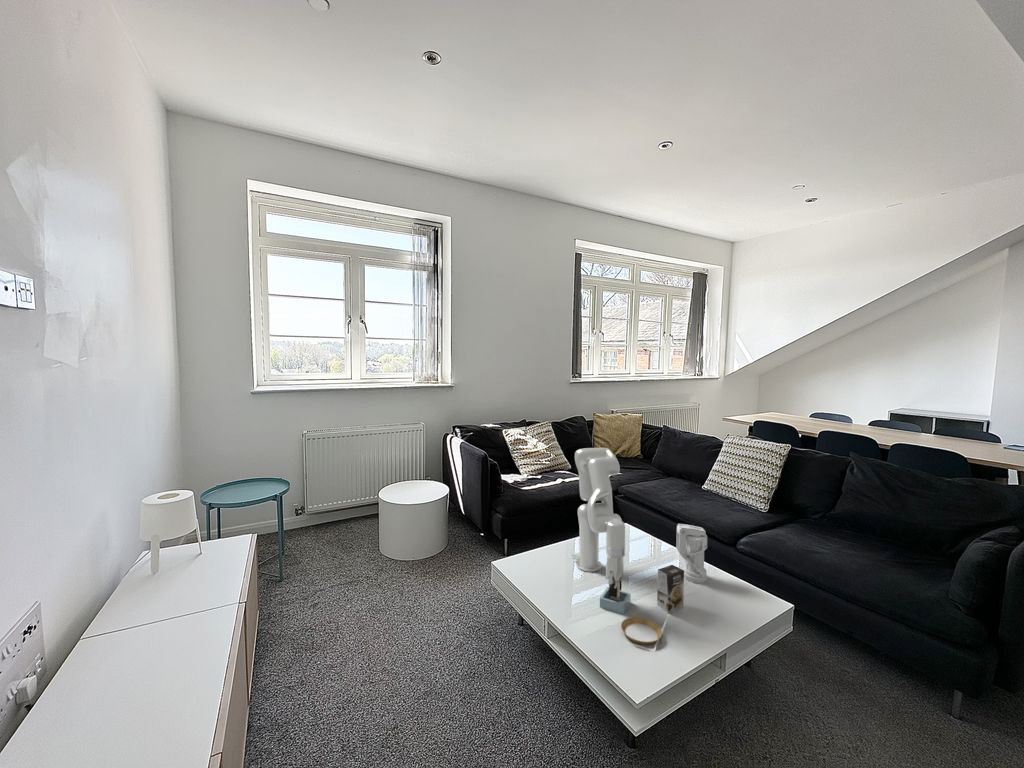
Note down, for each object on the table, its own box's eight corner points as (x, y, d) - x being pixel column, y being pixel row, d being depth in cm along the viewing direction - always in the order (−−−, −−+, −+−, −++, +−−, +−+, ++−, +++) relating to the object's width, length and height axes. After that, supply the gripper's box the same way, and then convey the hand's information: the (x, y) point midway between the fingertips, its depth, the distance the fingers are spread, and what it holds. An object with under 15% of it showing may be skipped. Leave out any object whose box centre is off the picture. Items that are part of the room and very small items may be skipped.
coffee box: (668, 614, 169) (669, 575, 168) (656, 606, 175) (656, 568, 174) (684, 608, 173) (684, 570, 172) (671, 600, 179) (672, 563, 178)
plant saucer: (634, 618, 167) (634, 612, 167) (669, 636, 156) (669, 629, 156) (613, 634, 157) (613, 627, 157) (648, 654, 146) (648, 647, 146)
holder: (599, 608, 173) (599, 598, 173) (607, 596, 182) (607, 586, 182) (623, 616, 168) (623, 605, 168) (630, 603, 177) (630, 593, 176)
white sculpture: (702, 572, 202) (703, 522, 200) (709, 584, 191) (710, 531, 190) (674, 571, 203) (675, 521, 202) (680, 582, 193) (681, 530, 192)
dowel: (609, 605, 174) (609, 577, 174) (612, 601, 177) (612, 573, 177) (618, 608, 173) (618, 579, 172) (620, 603, 176) (620, 576, 175)
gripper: (613, 541, 183) (613, 581, 184) (600, 556, 168) (599, 600, 169) (630, 544, 179) (630, 585, 180) (618, 561, 165) (617, 605, 165)
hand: (615, 592), depth 175 cm, fingers open, 5 cm apart
